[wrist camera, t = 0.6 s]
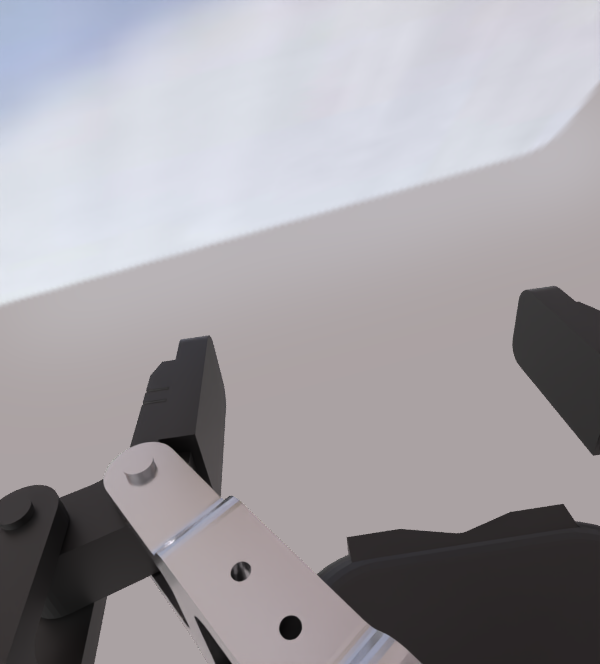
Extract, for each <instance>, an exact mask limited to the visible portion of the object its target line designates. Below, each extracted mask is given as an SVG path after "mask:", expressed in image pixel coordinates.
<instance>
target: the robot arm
mask: <svg viewBox="0 0 600 664" xmlns="http://www.w3.org/2000/svg"><path fill="white" fill-rule="evenodd" d="M513 352H514V356H515V359H516V361H517V363H518V364H519V366H520V367H521V368H522V369H523V371H524V372H525V373H526V374H527V375H528V377H529V378H530V379H531V380H532V382H533V383H534V384H535V385H536V386H537V388H538V389H539V390H540V391H541V392H542V394H543V395H544V396H545V397H546V399H547V400H548V401H549V402H550V403H551V405H552V406H553V407H554V408H555V410H556V411H557V412H558V413H559V414H560V416H561V417H562V418H563V419H564V420H565V422H566V423H567V424H568V425H569V427H570V428H571V429H572V430H573V431H574V433H575V434H576V435H577V436H578V438H579V439H580V440H581V441H582V443H583V444H584V445H585V446H586V447H587V449H588V450H589V451H590V452H591V454H592V455H600V311H599V310H597V309H595V308H592V307H590V306H588V305H585V304H583V303H581V302H576V301H574V300H573V299H572V298H571V297H569V296H568V295H567V294H566V293H564V292H563V291H562V290H561V289H560V288H558V287H556V286H550V287H544V288H537V289H530V290H525V291H523V292H522V293H521V295H520V297H519V303H518V309H517V316H516V322H515V328H514V335H513ZM146 391H147V393H145V397H144V400H143V405H142V407H141V411H140V414H139V418H138V421H137V425H136V428H135V432H134V435H133V439H132V442H131V446H130V448H129V449H127V450H125V451H124V452H122V453H121V454H120V455H118V456H117V457H116V458H115V459H114V460H113V461H112V462H111V463H110V465H109V466H108V467H107V470H106V471H105V475H104V479H102V480H101V481H99V482H97V483H95V484H93V485H91V486H88V487H86V488H83V489H81V490H78V491H76V492H73V493H71V494H68V495H66V496H63V497H61V498H59V496H58V495H57V493H56V492H55V490H53V489H52V488H50V487H48V486H44V485H33V486H28V487H24V488H21V489H19V490H16V491H14V492H12V493H10V494H8V495H7V496H5V497H3V498H2V499H1V500H0V664H94V661H95V656H96V651H97V646H98V641H99V635H100V630H101V625H102V619H103V615H104V609H105V604H106V599H107V596H108V595H110V594H112V593H114V592H117V591H119V590H121V589H123V588H125V587H127V586H129V585H131V584H133V583H136V582H138V581H140V580H142V579H144V578H146V577H148V576H150V577H151V579H152V580H153V581H154V583H155V584H156V586H157V587H158V589H159V590H160V592H161V593H162V595H163V596H164V597H165V599H166V600H167V602H168V603H169V605H170V606H171V607H172V609H173V611H174V612H175V613H176V615H177V616H178V618H179V619H180V621H181V622H182V624H183V625H184V627H185V628H186V629H187V631H188V632H189V634H190V635H191V637H192V638H193V640H194V641H195V643H196V644H197V646H198V648H199V650H200V651H201V653H202V655H203V656H204V658H205V660H206V661H207V663H208V664H600V526H598V525H594V524H588V523H583V522H576V521H574V519H573V518H572V516H571V515H570V513H569V512H568V510H567V509H566V507H565V506H564V504H560V505H554V506H547V507H540V508H534V509H527V510H521V511H515V512H510V513H507V514H505V515H503V516H501V517H498V518H496V519H494V520H492V521H489V522H487V523H485V524H483V525H480V526H478V527H476V528H474V529H471V530H469V531H467V532H464V533H457V534H456V533H444V532H430V531H418V530H405V529H398V530H391V531H385V532H379V533H372V534H366V535H359V536H353V537H347V544H348V553H349V555H347V556H345V557H343V558H340V559H338V560H337V561H335V562H333V563H332V564H330V565H328V566H327V567H325V568H324V569H323V570H322V571H321V572H319V573H318V574H315V573H314V572H313V571H312V570H311V569H310V568H309V567H308V566H307V565H306V564H305V563H304V562H303V561H302V560H301V559H300V558H299V557H298V556H297V555H296V554H295V553H294V552H293V551H291V549H290V548H289V547H287V545H285V544H284V543H283V542H282V541H281V540H280V539H279V538H278V537H277V536H276V535H275V534H274V533H273V532H272V531H271V530H270V529H269V528H268V527H267V526H265V524H264V523H263V522H262V521H261V520H260V519H259V518H257V517H256V516H255V515H254V514H253V513H252V512H251V511H250V510H249V509H248V508H247V507H246V506H245V505H244V504H243V503H242V502H241V501H240V500H238V499H237V498H235V497H233V496H229V497H228V498H227V499H225V500H223V499H222V498H221V482H222V464H223V447H224V431H225V429H224V428H225V414H226V398H225V389H224V384H223V380H222V376H221V372H220V368H219V364H218V360H217V356H216V352H215V349H214V345H213V341H212V339H211V337H210V336H202V337H195V338H188V339H182V340H180V343H179V347H178V351H177V356H176V360H172V361H166V362H162V363H161V364H160V365H159V366H158V368H157V369H156V370H155V371H154V372H153V374H152V375H151V376H150V379H149V383H148V387H147V390H146Z"/></svg>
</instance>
